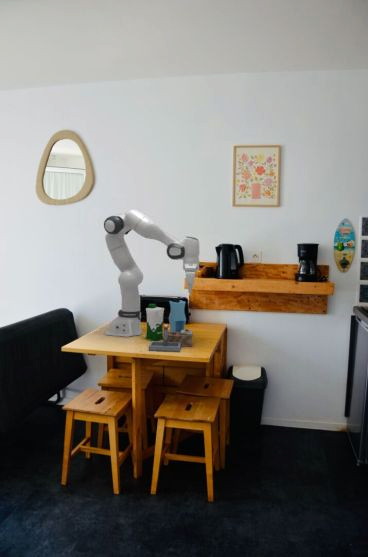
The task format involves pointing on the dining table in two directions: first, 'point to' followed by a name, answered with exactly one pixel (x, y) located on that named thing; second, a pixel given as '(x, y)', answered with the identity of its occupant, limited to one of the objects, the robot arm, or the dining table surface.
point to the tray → (170, 348)
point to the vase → (177, 316)
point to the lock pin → (165, 334)
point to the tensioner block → (181, 337)
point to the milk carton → (154, 322)
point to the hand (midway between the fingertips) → (190, 291)
